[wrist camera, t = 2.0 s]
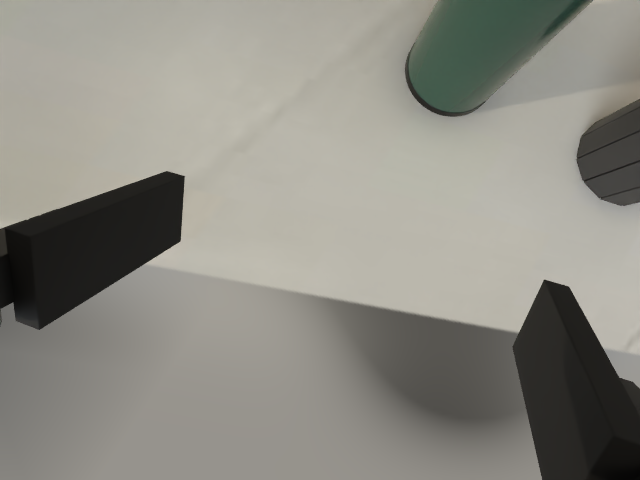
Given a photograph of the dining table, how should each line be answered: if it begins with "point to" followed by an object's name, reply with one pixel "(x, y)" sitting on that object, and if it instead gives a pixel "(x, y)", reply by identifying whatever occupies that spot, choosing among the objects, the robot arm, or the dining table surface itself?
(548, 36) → the flask
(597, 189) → the grey lidded canister
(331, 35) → the dining table surface
